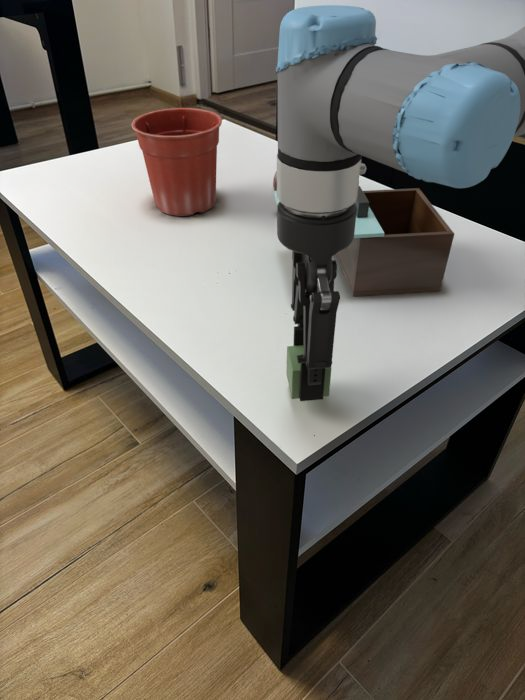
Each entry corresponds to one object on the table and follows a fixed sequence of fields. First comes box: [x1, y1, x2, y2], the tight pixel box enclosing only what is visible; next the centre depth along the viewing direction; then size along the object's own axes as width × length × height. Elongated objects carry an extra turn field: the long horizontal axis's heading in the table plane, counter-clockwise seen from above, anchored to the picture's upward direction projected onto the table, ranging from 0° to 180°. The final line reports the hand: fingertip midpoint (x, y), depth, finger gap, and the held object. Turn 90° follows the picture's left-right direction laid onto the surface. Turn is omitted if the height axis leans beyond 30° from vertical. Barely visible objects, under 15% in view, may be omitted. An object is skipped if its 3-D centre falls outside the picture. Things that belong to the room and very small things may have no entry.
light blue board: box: [273, 185, 384, 238], centre depth 82 cm, size 16×14×3 cm
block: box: [286, 345, 332, 400], centre depth 64 cm, size 4×4×4 cm
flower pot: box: [131, 107, 223, 217], centre depth 104 cm, size 16×16×16 cm
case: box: [335, 187, 455, 297], centre depth 87 cm, size 16×14×10 cm
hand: (307, 382), depth 66 cm, fingers closed on block, 4 cm apart
